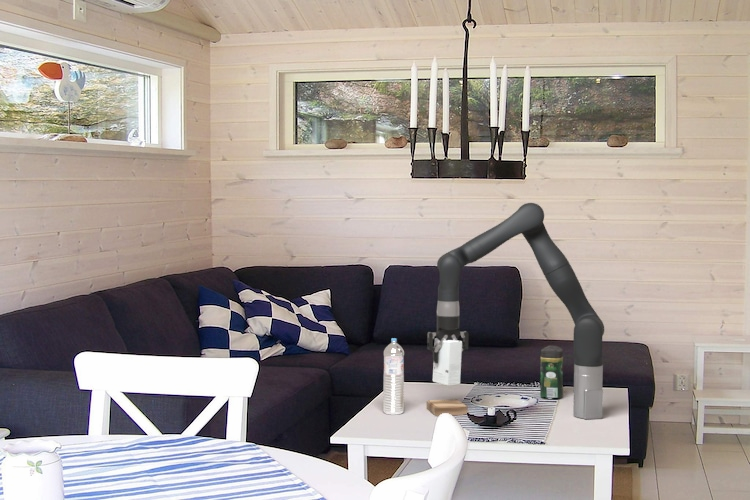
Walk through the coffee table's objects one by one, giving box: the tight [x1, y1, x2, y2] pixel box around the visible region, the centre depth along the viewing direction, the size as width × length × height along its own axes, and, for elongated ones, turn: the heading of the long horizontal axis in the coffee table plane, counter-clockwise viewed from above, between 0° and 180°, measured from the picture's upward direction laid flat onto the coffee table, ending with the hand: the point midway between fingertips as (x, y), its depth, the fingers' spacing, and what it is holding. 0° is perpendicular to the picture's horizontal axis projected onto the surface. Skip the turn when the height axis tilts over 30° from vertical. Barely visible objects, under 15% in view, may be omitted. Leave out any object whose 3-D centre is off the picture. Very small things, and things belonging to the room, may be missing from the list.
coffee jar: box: [539, 345, 564, 399], centre depth 339 cm, size 10×8×19 cm
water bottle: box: [382, 337, 405, 416], centre depth 313 cm, size 7×7×25 cm
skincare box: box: [432, 337, 463, 386], centre depth 314 cm, size 8×6×15 cm
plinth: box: [426, 398, 469, 417], centre depth 315 cm, size 11×11×3 cm
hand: (447, 362), depth 314 cm, fingers closed on skincare box, 7 cm apart
